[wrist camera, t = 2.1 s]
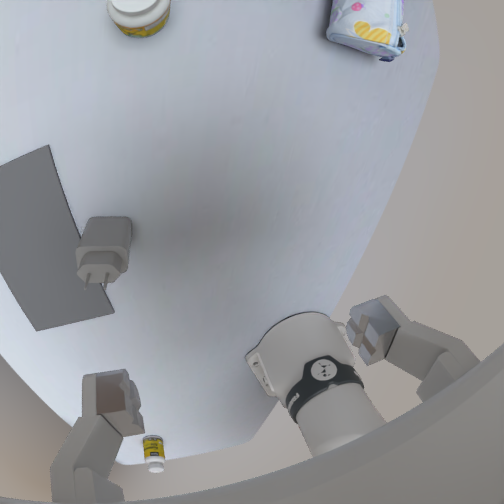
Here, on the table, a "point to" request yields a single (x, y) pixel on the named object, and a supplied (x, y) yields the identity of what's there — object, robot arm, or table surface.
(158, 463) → the supplement bottle
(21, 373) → the table surface
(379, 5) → the pencil case
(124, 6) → the supplement bottle
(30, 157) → the desk mat
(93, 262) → the power adapter
